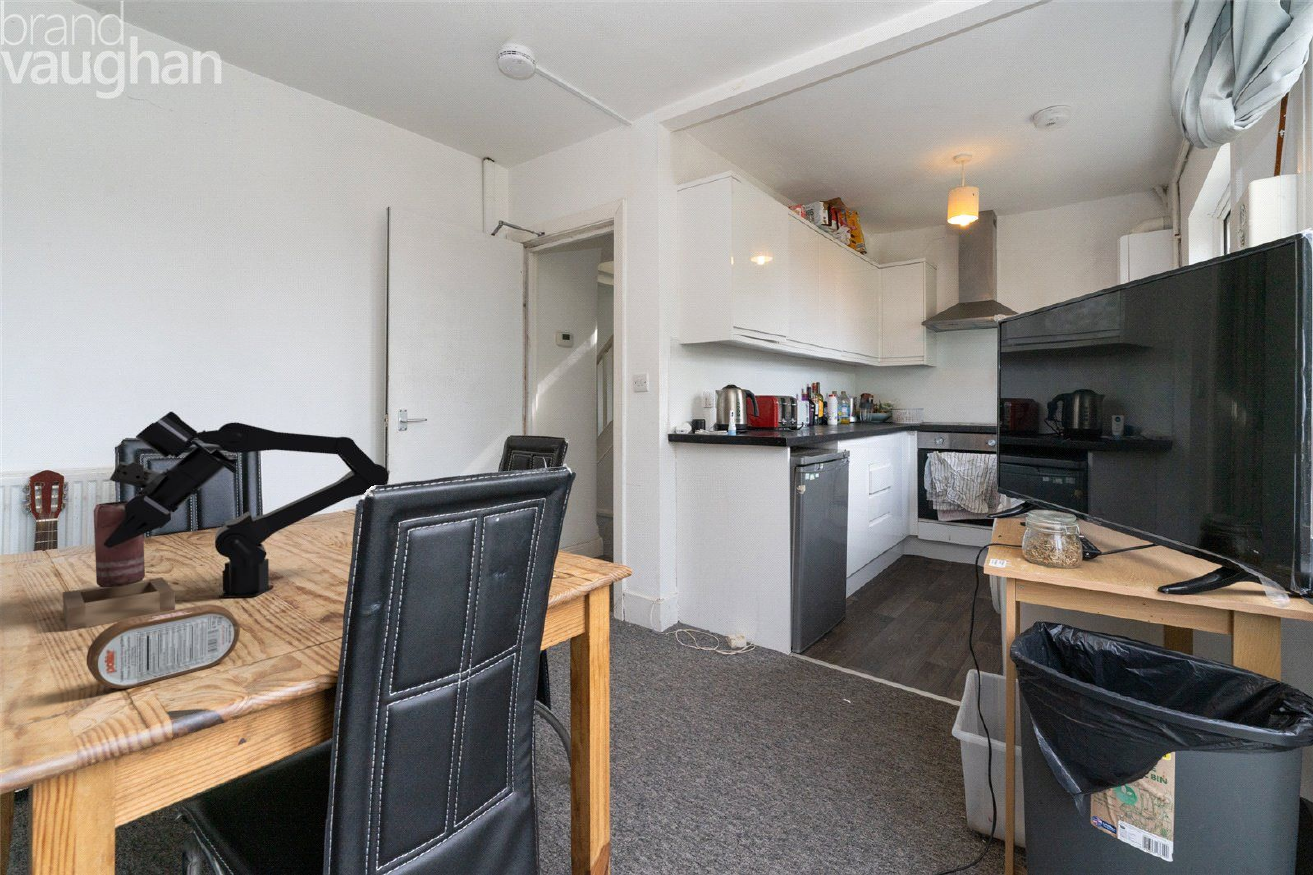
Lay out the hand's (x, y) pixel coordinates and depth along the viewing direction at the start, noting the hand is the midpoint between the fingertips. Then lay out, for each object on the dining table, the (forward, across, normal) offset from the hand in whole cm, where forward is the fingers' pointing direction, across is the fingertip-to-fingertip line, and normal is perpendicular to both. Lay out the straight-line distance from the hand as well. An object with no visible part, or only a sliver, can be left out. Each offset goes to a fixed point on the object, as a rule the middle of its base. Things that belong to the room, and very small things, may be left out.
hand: (108, 543), depth 97 cm
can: (+4, 0, +6) cm, 7 cm away
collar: (+8, 0, +9) cm, 12 cm away
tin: (+2, +38, +16) cm, 41 cm away
